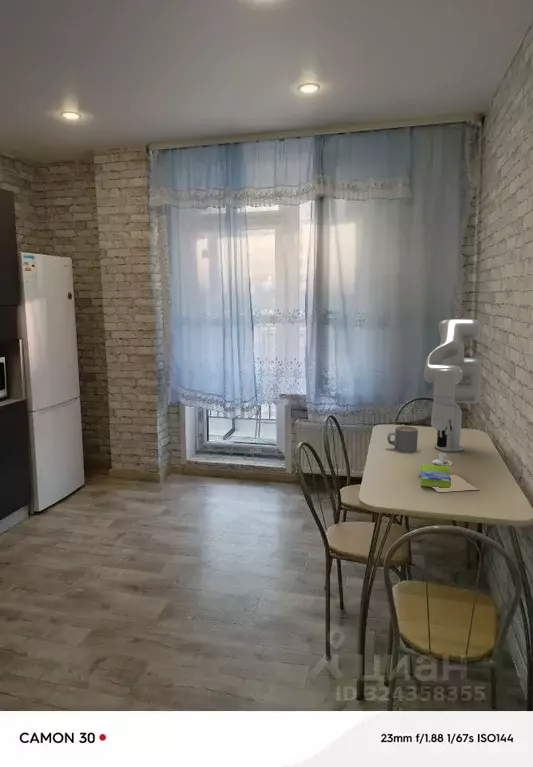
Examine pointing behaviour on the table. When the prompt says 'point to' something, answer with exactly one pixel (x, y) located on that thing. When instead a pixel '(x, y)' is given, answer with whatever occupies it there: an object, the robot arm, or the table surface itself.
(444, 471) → the box
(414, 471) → the table surface
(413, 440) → the coffee mug
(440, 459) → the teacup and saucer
